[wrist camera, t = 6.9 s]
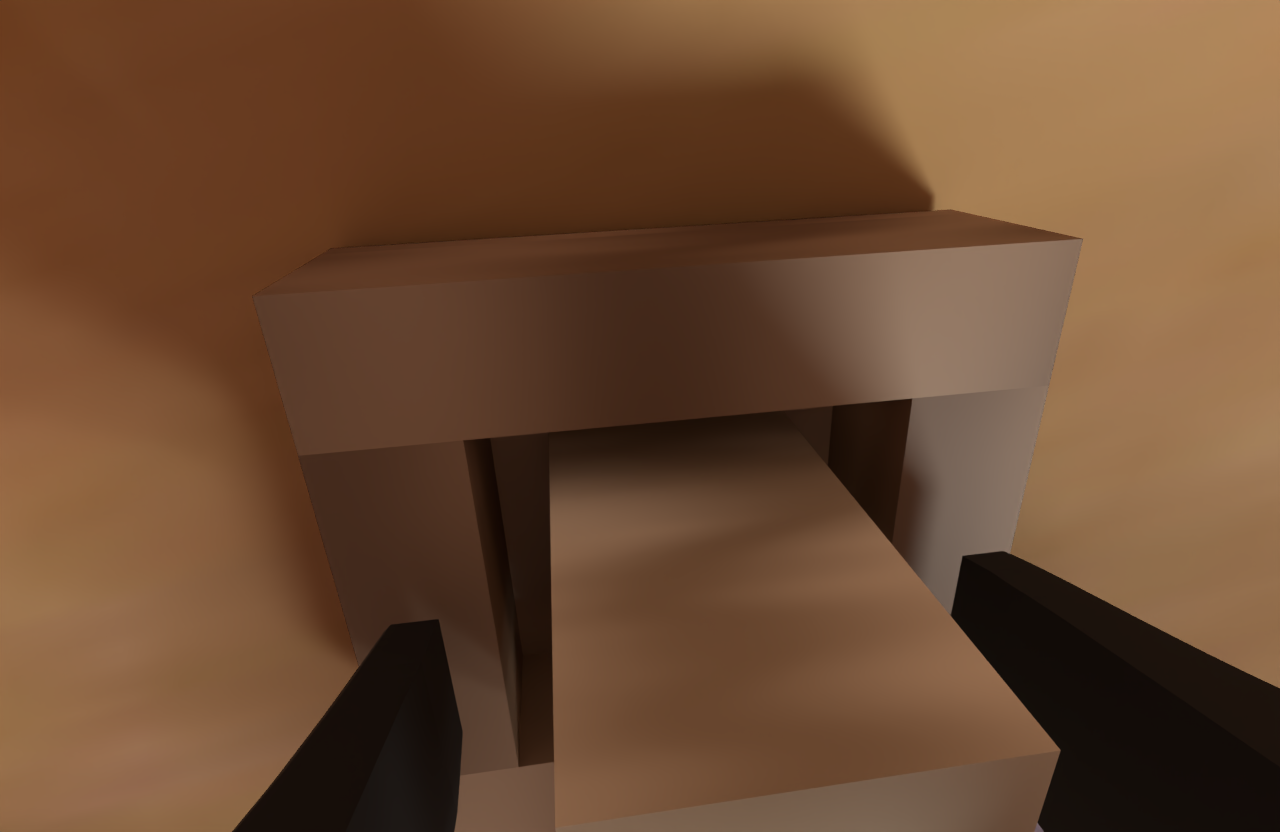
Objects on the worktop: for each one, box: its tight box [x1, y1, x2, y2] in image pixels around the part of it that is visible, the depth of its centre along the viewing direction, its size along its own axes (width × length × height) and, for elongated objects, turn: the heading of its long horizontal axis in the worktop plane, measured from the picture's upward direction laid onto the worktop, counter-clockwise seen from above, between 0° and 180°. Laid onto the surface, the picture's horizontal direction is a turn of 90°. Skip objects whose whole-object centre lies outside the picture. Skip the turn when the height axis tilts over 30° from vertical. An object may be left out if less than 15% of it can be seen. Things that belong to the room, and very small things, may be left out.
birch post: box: [549, 411, 1061, 832], centre depth 9 cm, size 4×4×7 cm
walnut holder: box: [252, 210, 1083, 832], centre depth 11 cm, size 10×10×3 cm
